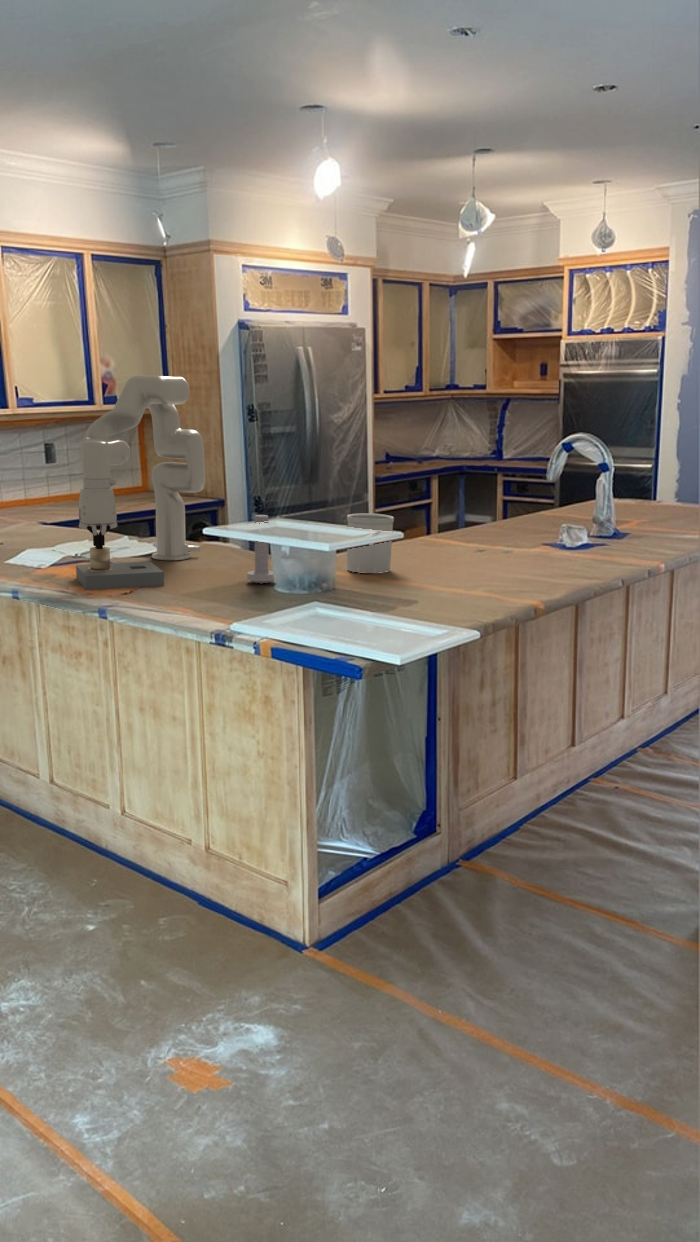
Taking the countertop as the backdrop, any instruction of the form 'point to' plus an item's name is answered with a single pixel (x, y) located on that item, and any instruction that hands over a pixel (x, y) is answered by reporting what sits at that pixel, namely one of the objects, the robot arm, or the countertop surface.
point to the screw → (261, 559)
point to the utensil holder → (373, 555)
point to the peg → (100, 558)
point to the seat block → (120, 576)
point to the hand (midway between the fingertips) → (99, 548)
